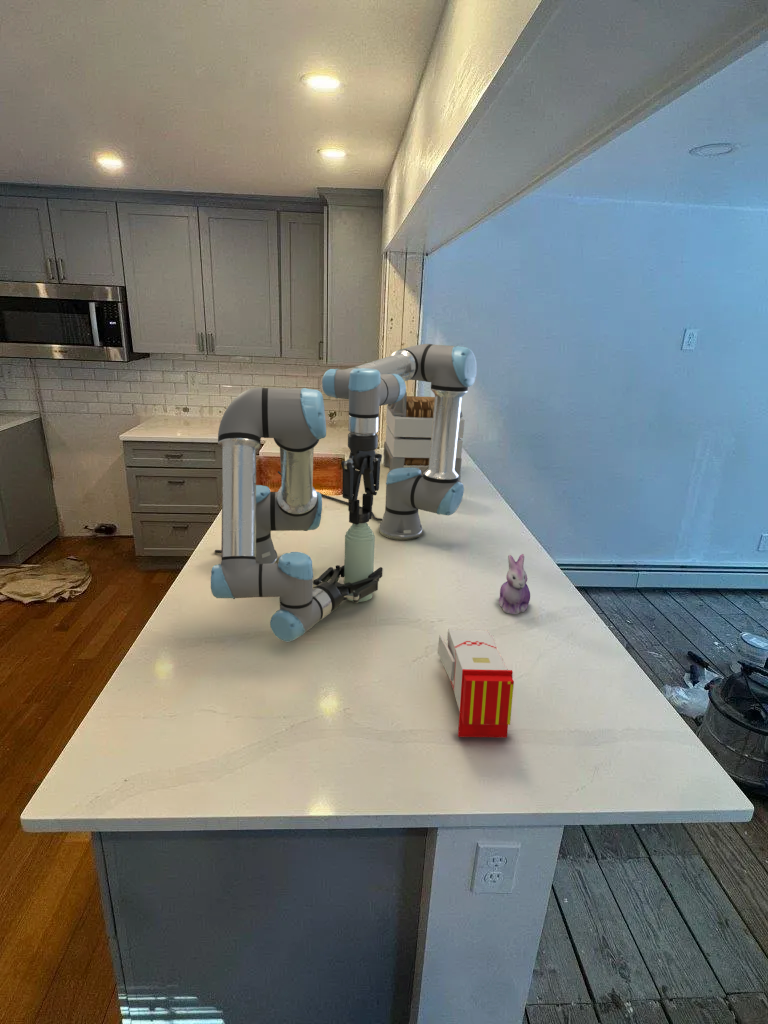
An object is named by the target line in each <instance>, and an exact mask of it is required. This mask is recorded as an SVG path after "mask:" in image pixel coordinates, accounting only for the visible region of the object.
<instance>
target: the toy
mask: <svg viewBox="0 0 768 1024" xmlns="http://www.w3.org/2000/svg"><path fill="white" fill-rule="evenodd" d="M446 640H447V643H446V641H445V639H444V636H443V635H442V634H439V637H438V646H437V656H438V657H439V659H440V661H441V663H442V666H443V668H444V670H445V672H446V674H447V677H448V679H449V681H450V684H451V687H452V690H453V693H454V697H455V701H456V705H457V708H458V711H459V714H458V715H459V716H458V730H457V731H458V732H457V737H458V738H508V731H509V726H510V725H511V717H512V707H513V697H514V696H513V695H514V684H515V680H514V679H513V673H514V671H513V670H512V669H508V667H507V665H506V662H505V661H504V659H503V658H502V655H501V653H500V651H499V649H498V647H497V643H496V639H495V637H494V635H493V634H491V632H490V631H489V629H467V628H466V629H465V628H463V629H461V628H460V629H459V628H448V630H447V639H446Z"/></svg>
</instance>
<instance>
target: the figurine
mask: <svg viewBox="0 0 768 1024" xmlns="http://www.w3.org/2000/svg"><path fill="white" fill-rule="evenodd" d="M507 561H508V562H507V563H508V571H507V573H506V576H505V578H506V581H505V582H504V583H503V584H501V586H500V588H499V589H500V590H499V598H498V605H499V607H500V608H501V609H502V611H503V612H504V613H507V614H511V615H518V614H519V613H525V612H526V611H527V609H528V607H529V604H530V601H531V591H530V588H529V585H528V584H527V582H528V575H527V571H526V570H525V568H524V567H525V566H524V563H525V554H524V553H521V554H520V555H519V557H518V558H517V560H515V559H514V557H513V556H512V555H511V554H509V555H508V556H507Z"/></svg>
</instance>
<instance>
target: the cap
mask: <svg viewBox="0 0 768 1024" xmlns="http://www.w3.org/2000/svg"><path fill="white" fill-rule="evenodd" d="M369 517H370V513H369V510H366V509H359V523H367V524H368V522H370V519H369Z"/></svg>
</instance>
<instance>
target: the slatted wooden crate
mask: <svg viewBox="0 0 768 1024" xmlns="http://www.w3.org/2000/svg"><path fill="white" fill-rule="evenodd" d="M407 394H408V393H407V391H406V392H405V395H404V397H403V398H402V399H401V400H400V401H398V402H395V403H393V404H387V405H386V413H385V414H386V415H385V423H386V428H385V438H384V442H383V466H384V467H388V468H389V472H390V471H391V470H393V469H397V468H405V466H406V467H409V466H411V467H417V466H418V467H429V457H430V446H431V435H432V423H433V412H434V400H435V396H415V395H414V396H413V395H412V396H411V395H407ZM464 429H465V419H464V418H463V411H461V412H460V422H459V432H458V441H457V451H456V461H455V471H456V473H457V474H458V475H459V477H458V480H459V482H461V472H462V461H463V460H462V453H463V442H464V441H463V440H462V439H463V438H464V431H465V430H464Z"/></svg>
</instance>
